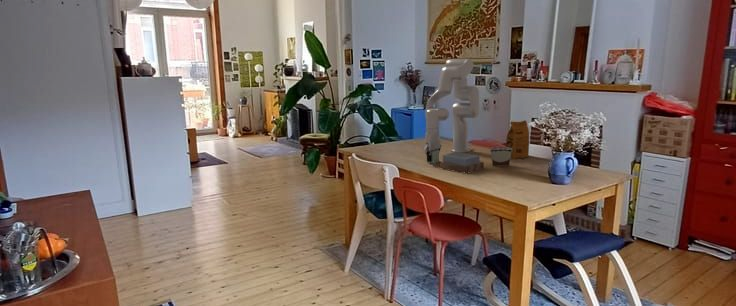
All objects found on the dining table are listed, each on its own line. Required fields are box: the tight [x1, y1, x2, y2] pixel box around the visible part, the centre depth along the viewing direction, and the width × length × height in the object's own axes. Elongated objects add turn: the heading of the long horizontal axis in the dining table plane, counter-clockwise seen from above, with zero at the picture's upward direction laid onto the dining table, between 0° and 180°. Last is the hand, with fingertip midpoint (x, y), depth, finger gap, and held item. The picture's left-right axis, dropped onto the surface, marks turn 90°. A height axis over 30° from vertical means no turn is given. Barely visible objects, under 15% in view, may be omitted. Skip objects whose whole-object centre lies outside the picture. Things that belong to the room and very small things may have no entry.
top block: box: [442, 152, 481, 166], centre depth 263 cm, size 12×16×4 cm
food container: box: [489, 146, 513, 167], centre depth 268 cm, size 12×6×10 cm, turn 84°
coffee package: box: [505, 120, 530, 160], centre depth 285 cm, size 10×12×22 cm
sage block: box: [426, 150, 440, 164], centre depth 281 cm, size 5×5×7 cm
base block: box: [439, 161, 485, 174], centre depth 264 cm, size 16×18×4 cm
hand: (432, 160), depth 281 cm, fingers open, 6 cm apart
